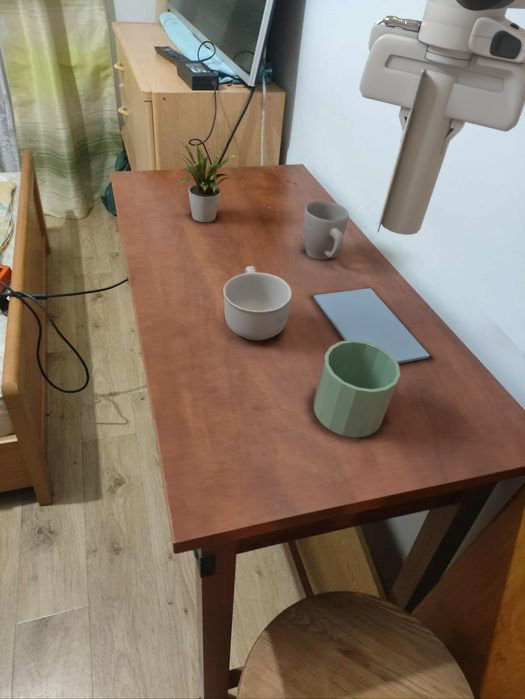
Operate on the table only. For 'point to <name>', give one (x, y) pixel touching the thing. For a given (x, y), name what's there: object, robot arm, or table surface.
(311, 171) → the table surface
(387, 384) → the sage green pencil cup
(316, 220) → the mug
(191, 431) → the table surface
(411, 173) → the paper towel roll
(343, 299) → the mat
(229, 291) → the teacup
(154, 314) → the table surface
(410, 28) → the robot arm
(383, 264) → the table surface
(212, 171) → the house plant
